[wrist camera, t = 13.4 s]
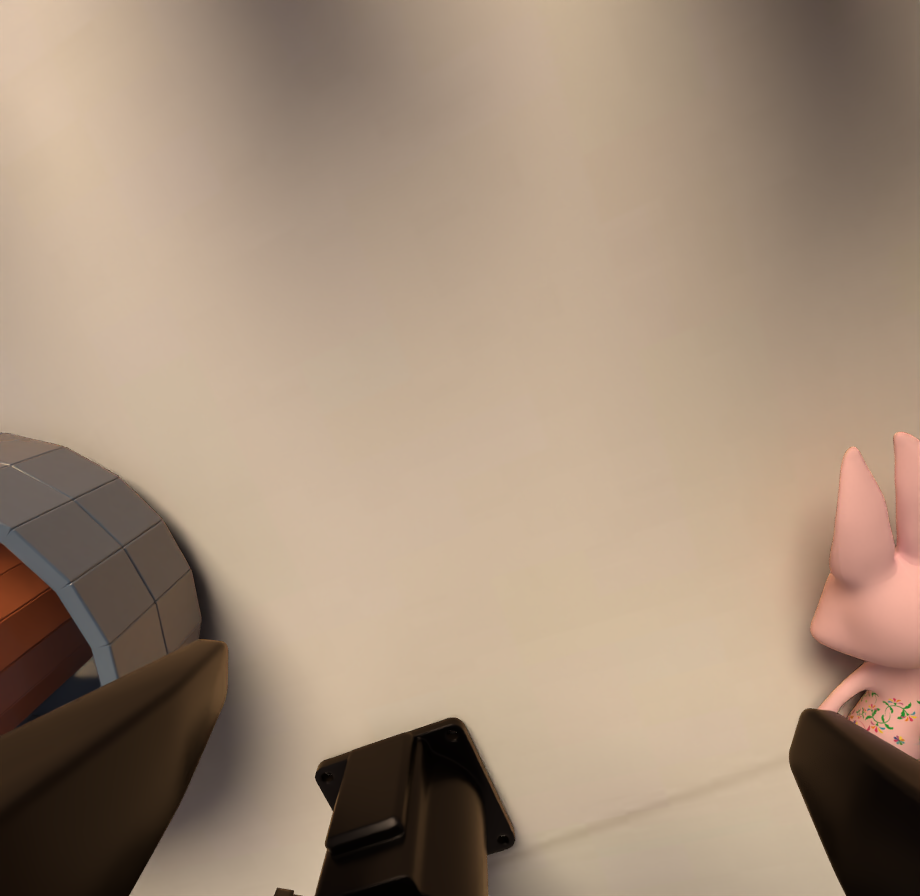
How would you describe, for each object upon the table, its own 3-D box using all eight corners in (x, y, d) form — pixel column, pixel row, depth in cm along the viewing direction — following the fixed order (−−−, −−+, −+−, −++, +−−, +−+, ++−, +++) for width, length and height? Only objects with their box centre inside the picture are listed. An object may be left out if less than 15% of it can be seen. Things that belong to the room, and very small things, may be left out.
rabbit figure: (941, 710, 24) (936, 389, 18) (1092, 860, 18) (1151, 466, 13) (793, 750, 24) (744, 451, 19) (896, 906, 19) (871, 549, 13)
